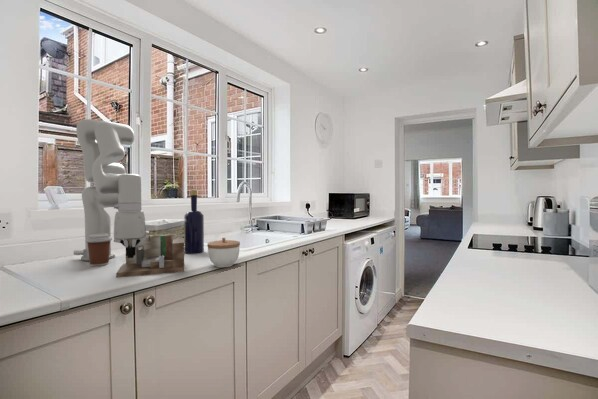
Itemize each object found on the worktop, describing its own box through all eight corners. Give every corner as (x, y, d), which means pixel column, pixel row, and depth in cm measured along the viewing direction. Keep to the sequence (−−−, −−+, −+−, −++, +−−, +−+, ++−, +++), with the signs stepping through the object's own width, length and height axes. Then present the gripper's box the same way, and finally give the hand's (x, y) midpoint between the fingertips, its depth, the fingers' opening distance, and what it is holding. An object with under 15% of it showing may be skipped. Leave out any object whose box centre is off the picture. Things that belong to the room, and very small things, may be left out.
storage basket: (157, 256, 145) (156, 223, 145) (127, 254, 149) (126, 222, 149) (187, 247, 168) (187, 219, 168) (161, 245, 172) (160, 218, 172)
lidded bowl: (232, 269, 120) (232, 240, 120) (201, 268, 123) (201, 239, 122) (244, 262, 132) (244, 236, 132) (216, 261, 135) (216, 235, 135)
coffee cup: (117, 261, 133) (117, 233, 132) (101, 267, 124) (101, 236, 123) (97, 261, 134) (96, 232, 133) (80, 266, 125) (79, 236, 124)
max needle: (159, 267, 115) (159, 241, 115) (159, 267, 116) (159, 240, 116) (164, 267, 115) (163, 241, 115) (164, 266, 117) (164, 240, 116)
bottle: (208, 251, 155) (207, 190, 154) (192, 254, 148) (192, 190, 147) (195, 249, 160) (195, 190, 159) (180, 252, 153) (179, 190, 152)
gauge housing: (116, 277, 109) (115, 242, 109) (123, 267, 123) (123, 236, 123) (184, 271, 117) (184, 239, 117) (183, 263, 131) (183, 234, 131)
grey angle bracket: (135, 269, 112) (135, 250, 112) (139, 263, 123) (139, 245, 122) (159, 267, 115) (159, 249, 115) (161, 261, 125) (160, 244, 125)
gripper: (104, 208, 111) (105, 261, 111) (151, 207, 116) (152, 258, 116) (108, 207, 118) (109, 257, 118) (153, 206, 123) (153, 254, 123)
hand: (130, 257), depth 117 cm, fingers closed
